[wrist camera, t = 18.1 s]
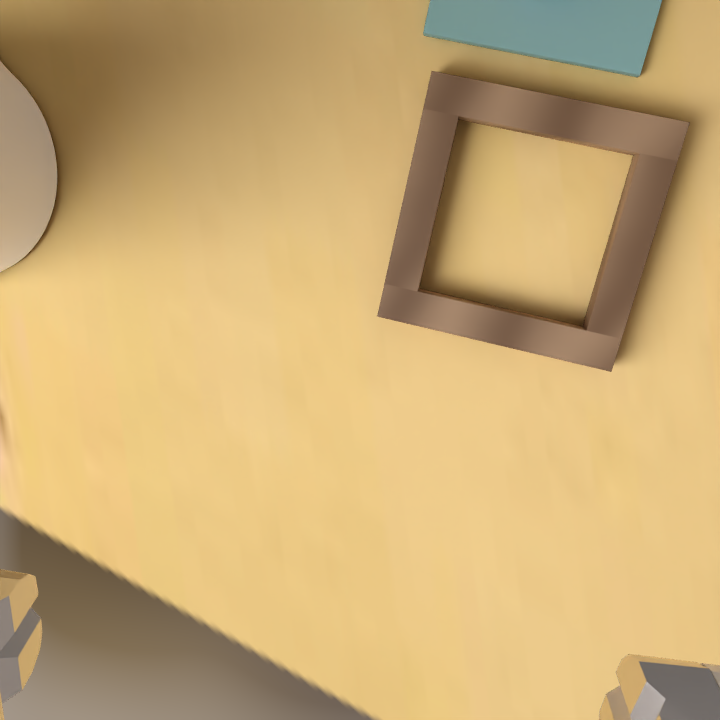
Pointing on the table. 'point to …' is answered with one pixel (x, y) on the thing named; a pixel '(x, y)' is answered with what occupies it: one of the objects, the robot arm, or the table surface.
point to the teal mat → (552, 29)
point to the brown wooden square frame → (626, 240)
